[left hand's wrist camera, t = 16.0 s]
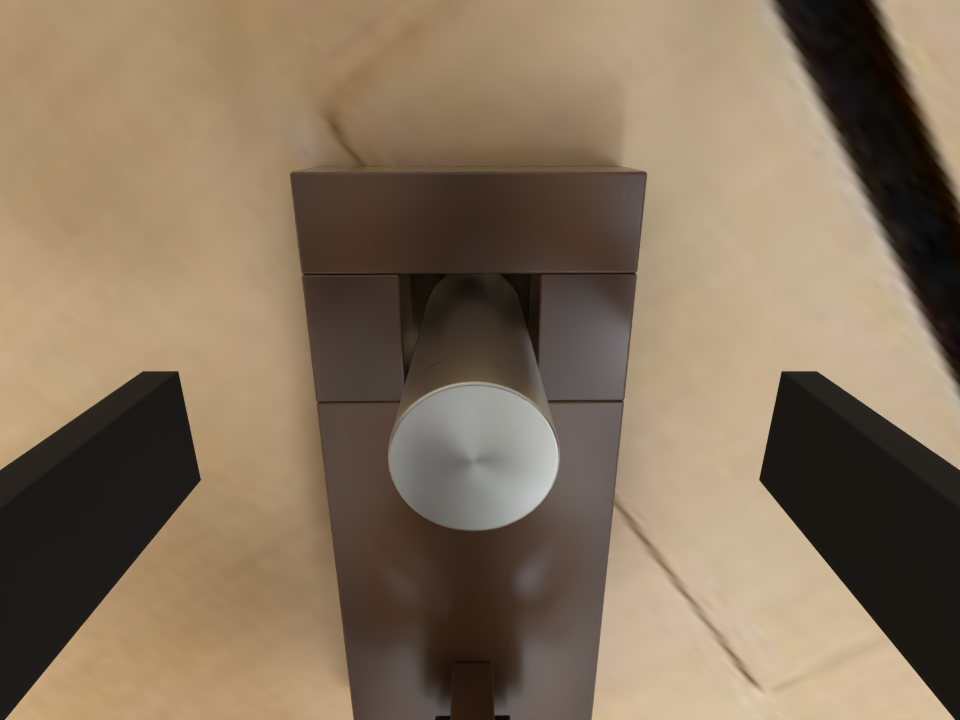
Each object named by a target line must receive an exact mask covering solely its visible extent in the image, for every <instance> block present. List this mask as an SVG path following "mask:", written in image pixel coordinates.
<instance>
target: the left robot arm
mask: <svg viewBox="0 0 960 720" xmlns="http://www.w3.org/2000/svg"><path fill="white" fill-rule="evenodd" d="M200 480H201V479H200V474H199V469H198V464H197V460H196V455H195V450H194V445H193V440H192V436H191V431H190V426H189V421H188V416H187V411H186V407H185V402H184V397H183V392H182V387H181V383H180V378H179V373H178V371H143V372H141V373H140V374H139V375H137V376H136V377H134V378H133V379H131V380H130V381H128V382H127V383H126V384H124V385H123V386H121V387H120V388H118V389H117V390H115V391H114V392H113V393H111V394H110V395H108V396H107V397H105V398H104V399H102V400H101V401H100V402H98V403H97V404H95V405H94V406H92V407H91V408H89V409H88V410H87V411H85V412H84V413H82V414H81V415H79V416H78V417H76V418H75V419H74V420H72V421H71V422H69V423H68V424H66V425H65V426H63V427H62V428H61V429H59V430H58V431H56V432H55V433H53V434H52V435H50V436H49V437H48V438H46V439H45V440H43V441H42V442H40V443H39V444H37V445H36V446H35V447H33V448H32V449H30V450H29V451H27V452H26V453H24V454H23V455H22V456H20V457H19V458H17V459H16V460H14V461H13V462H11V463H10V464H9V465H7V466H6V467H4V468H3V469H1V470H0V720H5V719H6V718H7V716H8V715H9V714H10V713H11V712H12V710H13V709H14V708H15V707H16V705H17V704H18V703H19V702H20V701H21V699H22V698H23V697H24V696H25V694H26V693H27V692H28V691H29V690H30V688H31V687H32V686H33V685H34V683H35V682H36V681H37V680H38V679H39V677H40V676H41V675H42V674H43V672H44V671H45V670H46V669H47V667H48V666H49V665H50V664H51V663H52V661H53V660H54V659H55V658H56V656H57V655H58V654H59V653H60V652H61V650H62V649H63V648H64V647H65V645H66V644H67V643H68V642H69V641H70V639H71V638H72V637H73V636H74V634H75V633H76V632H77V631H78V630H79V628H80V627H81V626H82V625H83V623H84V622H85V621H86V620H87V619H88V617H89V616H90V615H91V614H92V612H93V611H94V610H95V609H96V608H97V606H98V605H99V604H100V603H101V601H102V600H103V599H104V598H105V597H106V595H107V594H108V593H109V592H110V590H111V589H112V588H113V587H114V585H115V584H116V583H117V582H118V581H119V579H120V578H121V577H122V576H123V574H124V573H125V572H126V571H127V570H128V568H129V567H130V566H131V565H132V563H133V562H134V561H135V560H136V559H137V557H138V556H139V555H140V554H141V552H142V551H143V550H144V549H145V548H146V546H147V545H148V544H149V543H150V541H151V540H152V539H153V538H154V537H155V535H156V534H157V533H158V532H159V530H160V529H161V528H162V527H163V526H164V524H165V523H166V522H167V521H168V519H169V518H170V517H171V516H172V515H173V513H174V512H175V511H176V510H177V508H178V507H179V506H180V505H181V503H182V502H183V501H184V500H185V499H186V497H187V496H188V495H189V494H190V492H191V491H192V490H193V489H194V488H195V486H196V485H197V484H198V483H199V481H200ZM759 480H760V481H761V483H762V484H763V485H764V486H765V488H766V489H767V490H768V491H769V492H770V494H771V495H772V496H773V497H774V499H775V500H776V501H777V502H778V503H779V505H780V506H781V507H782V508H783V510H784V511H785V512H786V513H787V515H788V516H789V517H790V518H791V519H792V521H793V522H794V523H795V524H796V526H797V527H798V528H799V529H800V530H801V532H802V533H803V534H804V535H805V537H806V538H807V539H808V540H809V541H810V543H811V544H812V545H813V546H814V548H815V549H816V550H817V551H818V552H819V554H820V555H821V556H822V557H823V559H824V560H825V561H826V562H827V563H828V565H829V566H830V567H831V568H832V570H833V571H834V572H835V573H836V574H837V576H838V577H839V578H840V579H841V581H842V582H843V583H844V584H845V585H846V587H847V588H848V589H849V590H850V592H851V593H852V594H853V595H854V597H855V598H856V599H857V600H858V601H859V603H860V604H861V605H862V606H863V608H864V609H865V610H866V611H867V612H868V614H869V615H870V616H871V617H872V619H873V620H874V621H875V622H876V623H877V625H878V626H879V627H880V628H881V630H882V631H883V632H884V633H885V634H886V636H887V637H888V638H889V639H890V641H891V642H892V643H893V644H894V645H895V647H896V648H897V649H898V650H899V652H900V653H901V654H902V655H903V656H904V658H905V659H906V660H907V661H908V663H909V664H910V665H911V666H912V667H913V669H914V670H915V671H916V672H917V674H918V675H919V676H920V677H921V679H922V680H923V681H924V682H925V683H926V685H927V686H928V687H929V688H930V690H931V691H932V692H933V693H934V694H935V696H936V697H937V698H938V699H939V701H940V702H941V703H942V704H943V705H944V707H945V708H946V709H947V710H948V712H949V713H950V714H951V715H952V716H953V718H954V719H955V720H960V470H959V469H957V468H956V467H954V466H953V465H951V464H950V463H949V462H947V461H946V460H944V459H943V458H941V457H940V456H938V455H937V454H936V453H934V452H933V451H931V450H930V449H928V448H927V447H925V446H924V445H923V444H921V443H920V442H918V441H917V440H915V439H914V438H912V437H911V436H910V435H908V434H907V433H905V432H904V431H902V430H901V429H899V428H898V427H897V426H895V425H894V424H892V423H891V422H889V421H888V420H886V419H885V418H884V417H882V416H881V415H879V414H878V413H876V412H875V411H873V410H872V409H871V408H869V407H868V406H866V405H865V404H863V403H862V402H860V401H859V400H858V399H856V398H855V397H853V396H852V395H850V394H849V393H847V392H846V391H845V390H843V389H842V388H840V387H839V386H837V385H836V384H834V383H833V382H832V381H830V380H829V379H827V378H826V377H824V376H823V375H821V374H820V373H819V372H817V371H782V373H781V378H780V383H779V387H778V392H777V397H776V402H775V407H774V411H773V416H772V421H771V426H770V431H769V436H768V440H767V445H766V450H765V455H764V460H763V464H762V469H761V474H760V479H759Z"/></svg>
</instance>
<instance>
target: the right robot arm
mask: <svg viewBox="0 0 960 720" xmlns="http://www.w3.org/2000/svg"><path fill="white" fill-rule="evenodd" d="M435 720H450V716H436V717H435ZM495 720H510V715H495Z"/></svg>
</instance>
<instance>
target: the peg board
mask: <svg viewBox="0 0 960 720" xmlns="http://www.w3.org/2000/svg"><path fill="white" fill-rule="evenodd" d="M290 178H291V187H292V196H293V204H294V213H295V221H296V230H297V238H298V247H299V256H300V264H301V272H302V273H303V275H302V282H303V290H304V299H305V308H306V316H307V325H308V333H309V342H310V350H311V359H312V368H313V376H314V385H315V393H316V400H317V402H318V403H317V410H318V418H319V427H320V435H321V444H322V453H323V461H324V470H325V478H326V487H327V495H328V504H329V513H330V521H331V530H332V538H333V547H334V555H335V564H336V573H337V581H338V590H339V598H340V607H341V615H342V624H343V632H344V641H345V650H346V658H347V667H348V675H349V684H350V692H351V701H352V710H353V718H354V720H435V717H436V716H450V720H495V715H510V720H592V710H593V700H594V691H595V681H596V671H597V661H598V651H599V641H600V632H601V622H602V612H603V602H604V592H605V582H606V573H607V563H608V553H609V543H610V533H611V523H612V514H613V504H614V494H615V484H616V474H617V464H618V455H619V445H620V435H621V425H622V415H623V405H624V402H623V400H624V396H625V386H626V376H627V367H628V357H629V347H630V337H631V327H632V317H633V307H634V298H635V288H636V278H637V275H636V274H635V273H636V272H637V268H638V258H639V248H640V238H641V228H642V218H643V208H644V199H645V189H646V179H647V173H646V172H644V171H640V170H635V169H630V168H626V167H621V166H448V167H314V168H309V169H304V170H299V171H294V172H291V174H290ZM410 274H531V275H530V306H529V336H530V340H531V344H532V347H533V351H534V354H535V358H536V362H537V365H538V369H539V372H540V376H541V380H542V383H543V387H544V390H545V394H546V397H547V401H548V405H549V408H550V412H551V415H552V419H553V423H554V426H555V430H556V433H557V437H558V441H559V447H560V464H559V470H558V473H557V477H556V480H555V482H554V484H553V486H552V488H551V490H550V491H549V493H548V495H547V496H546V497H545V499H544V500H543V501H542V502H541V503H540V505H538V506H537V507H536V508H535V509H534V510H533V511H532V512H530V513H529V514H528V515H526V516H525V517H523V518H521V519H520V520H518V521H516V522H514V523H511V524H509V525H507V526H503V527H500V528H496V529H491V530H485V531H463V530H456V529H451V528H448V527H444V526H441V525H439V524H436V523H434V522H432V521H430V520H428V519H426V518H424V517H423V516H422V515H420V514H419V513H417V512H416V511H415V510H414V509H413V508H411V507H410V506H409V505H408V504H407V502H406V501H405V500H404V499H403V498H402V496H401V495H400V493H399V492H398V490H397V488H396V486H395V484H394V482H393V480H392V477H391V474H390V470H389V464H388V448H389V442H390V438H391V434H392V430H393V427H394V423H395V419H396V416H397V412H398V409H399V405H400V401H401V398H402V394H403V390H404V387H405V383H406V379H407V376H408V372H409V369H410V365H411V361H412V358H413V354H414V348H413V326H412V305H411V283H410Z"/></svg>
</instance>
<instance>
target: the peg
mask: <svg viewBox="0 0 960 720" xmlns="http://www.w3.org/2000/svg"><path fill="white" fill-rule="evenodd" d="M388 464H389V470H390V474H391V477H392V480H393V482H394V484H395V486H396V488H397V490H398V492H399V493H400V495H401V496H402V498H403V499H404V500H405V501H406V502H407V504H408V505H409V506H410V507H411V508H413V509H414V510H415V511H416V512H417V513H419V514H420V515H422V516H423V517H424V518H426V519H428V520H430V521H432V522H434V523H436V524H439V525H441V526H444V527H448V528H451V529H456V530H463V531H485V530H491V529H496V528H500V527H503V526H507V525H509V524H511V523H514V522H516V521H518V520H520V519H521V518H523V517H525V516H526V515H528V514H529V513H530V512H532V511H533V510H534V509H535V508H536V507H537V506H538V505H540V503H541V502H542V501H543V500H544V499H545V497H546V496H547V495H548V493H549V491H550V490H551V488H552V486H553V484H554V482H555V480H556V477H557V473H558V470H559V464H560V447H559V441H558V437H557V433H556V430H555V426H554V423H553V419H552V415H551V412H550V408H549V405H548V401H547V397H546V394H545V390H544V387H543V383H542V380H541V376H540V372H539V369H538V365H537V362H536V358H535V354H534V351H533V347H532V344H531V340H530V336H529V333H528V329H527V326H526V322H525V318H524V315H523V311H522V308H521V304H520V301H519V298H518V295H517V293H516V291H515V290H514V288H513V287H512V285H511V284H510V283H509V282H508V281H507V280H506V279H505V278H504V277H502V276H501V275H499V274H448V275H447V276H446V277H444V278H443V279H442V280H441V281H440V282H439V283H438V284H437V285H436V286H435V288H434V289H433V291H432V293H431V295H430V297H429V300H428V303H427V307H426V310H425V314H424V318H423V321H422V325H421V329H420V332H419V336H418V339H417V343H416V347H415V350H414V354H413V358H412V361H411V365H410V369H409V372H408V376H407V379H406V383H405V387H404V390H403V394H402V398H401V401H400V405H399V409H398V412H397V416H396V419H395V423H394V427H393V430H392V434H391V438H390V442H389V448H388Z"/></svg>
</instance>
